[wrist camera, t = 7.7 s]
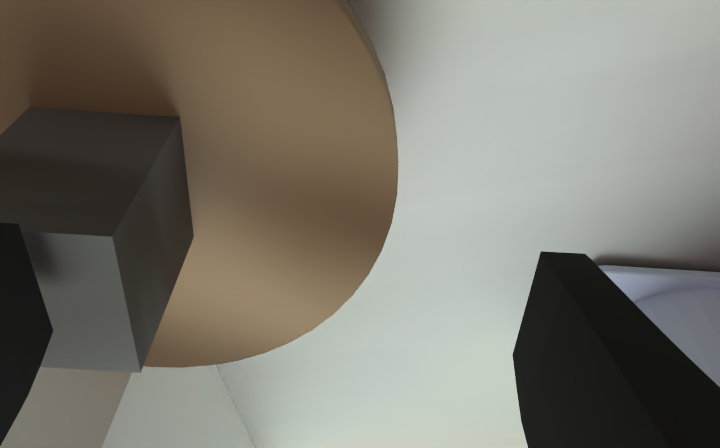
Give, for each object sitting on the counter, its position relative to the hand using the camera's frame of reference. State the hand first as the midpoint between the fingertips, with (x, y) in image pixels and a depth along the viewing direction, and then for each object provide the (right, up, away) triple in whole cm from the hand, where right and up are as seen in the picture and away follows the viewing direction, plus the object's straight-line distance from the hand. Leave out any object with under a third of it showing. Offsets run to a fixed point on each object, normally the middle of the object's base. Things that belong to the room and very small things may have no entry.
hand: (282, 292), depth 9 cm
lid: (-4, +3, +5) cm, 7 cm away
